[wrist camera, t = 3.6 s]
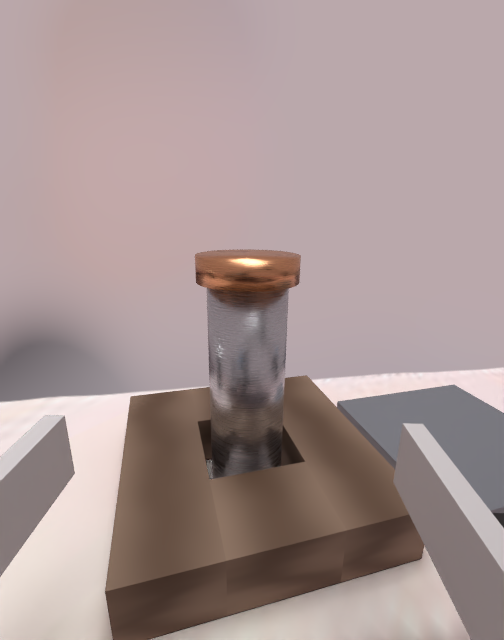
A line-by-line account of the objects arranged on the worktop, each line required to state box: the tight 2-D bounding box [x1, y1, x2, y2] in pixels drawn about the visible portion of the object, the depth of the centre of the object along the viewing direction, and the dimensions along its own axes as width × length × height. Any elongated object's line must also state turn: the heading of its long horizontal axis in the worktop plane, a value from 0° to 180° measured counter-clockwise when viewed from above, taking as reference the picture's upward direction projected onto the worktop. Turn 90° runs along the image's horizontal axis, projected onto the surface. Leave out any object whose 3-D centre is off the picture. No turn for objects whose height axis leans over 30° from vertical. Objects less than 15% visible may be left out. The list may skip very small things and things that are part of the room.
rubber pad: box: [337, 385, 504, 513], centre depth 29 cm, size 14×14×1 cm
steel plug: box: [195, 250, 301, 479], centre depth 22 cm, size 6×6×16 cm
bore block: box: [105, 376, 424, 640], centre depth 24 cm, size 16×16×4 cm
